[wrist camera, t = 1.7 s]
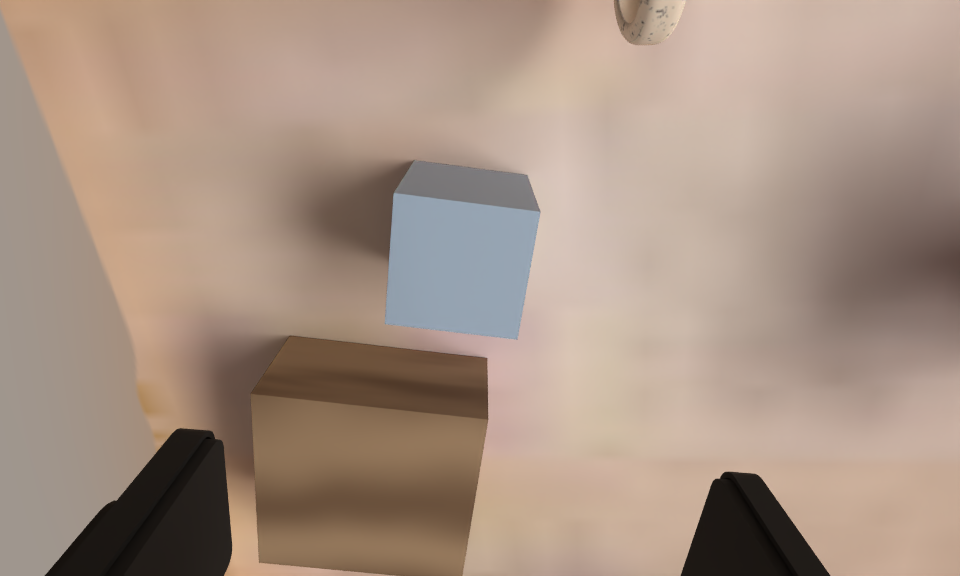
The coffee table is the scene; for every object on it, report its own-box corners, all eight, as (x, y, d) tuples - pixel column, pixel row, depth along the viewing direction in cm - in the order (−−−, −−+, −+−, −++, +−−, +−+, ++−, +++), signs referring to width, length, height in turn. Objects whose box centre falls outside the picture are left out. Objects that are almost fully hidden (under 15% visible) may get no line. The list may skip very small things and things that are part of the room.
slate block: (414, 160, 24) (393, 192, 18) (527, 174, 24) (540, 211, 18) (406, 265, 26) (384, 323, 20) (510, 278, 26) (517, 339, 20)
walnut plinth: (289, 335, 27) (250, 393, 22) (487, 358, 28) (487, 419, 23) (292, 487, 31) (259, 562, 26) (464, 504, 32) (461, 581, 27)
